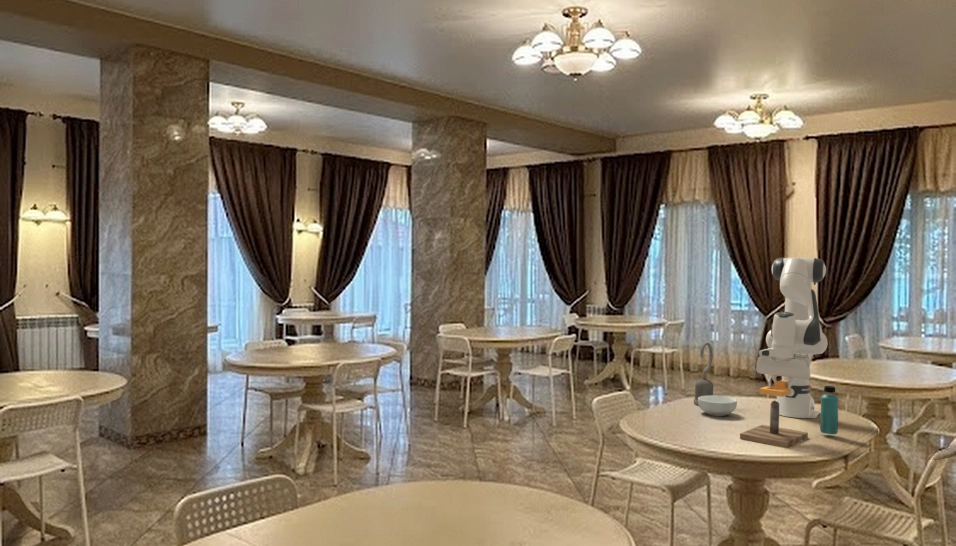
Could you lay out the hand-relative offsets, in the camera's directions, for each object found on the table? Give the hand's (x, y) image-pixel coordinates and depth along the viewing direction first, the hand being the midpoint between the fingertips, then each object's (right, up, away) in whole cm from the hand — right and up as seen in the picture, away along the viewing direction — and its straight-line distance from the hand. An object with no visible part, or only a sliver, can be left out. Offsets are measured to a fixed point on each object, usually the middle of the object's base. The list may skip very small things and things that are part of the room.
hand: (782, 387), depth 287 cm
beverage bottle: (+18, -20, 0) cm, 27 cm away
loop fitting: (-3, -2, -3) cm, 5 cm away
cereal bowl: (-14, -18, +37) cm, 44 cm away
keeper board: (-5, -19, -5) cm, 21 cm away
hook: (-12, -18, +59) cm, 63 cm away
